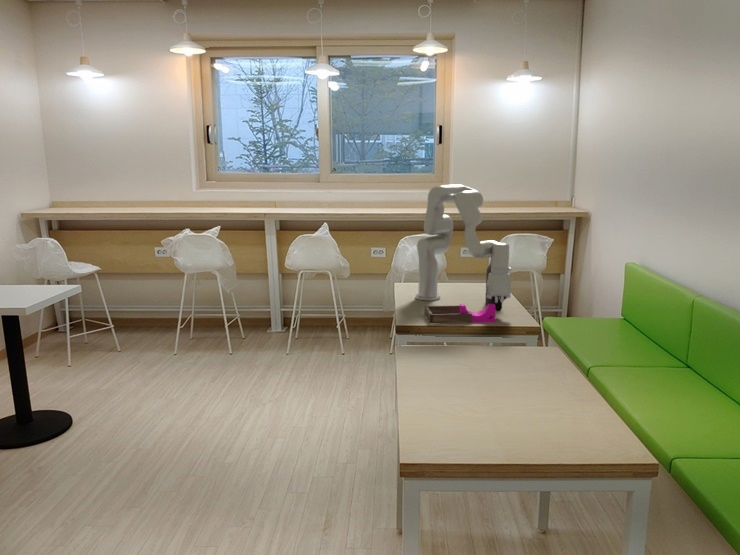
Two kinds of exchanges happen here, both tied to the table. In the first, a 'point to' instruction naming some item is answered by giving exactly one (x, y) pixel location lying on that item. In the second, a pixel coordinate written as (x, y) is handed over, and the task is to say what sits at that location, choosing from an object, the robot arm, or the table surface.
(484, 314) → the magenta curved block
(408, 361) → the table surface
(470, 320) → the walnut bay
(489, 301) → the beer bottle
